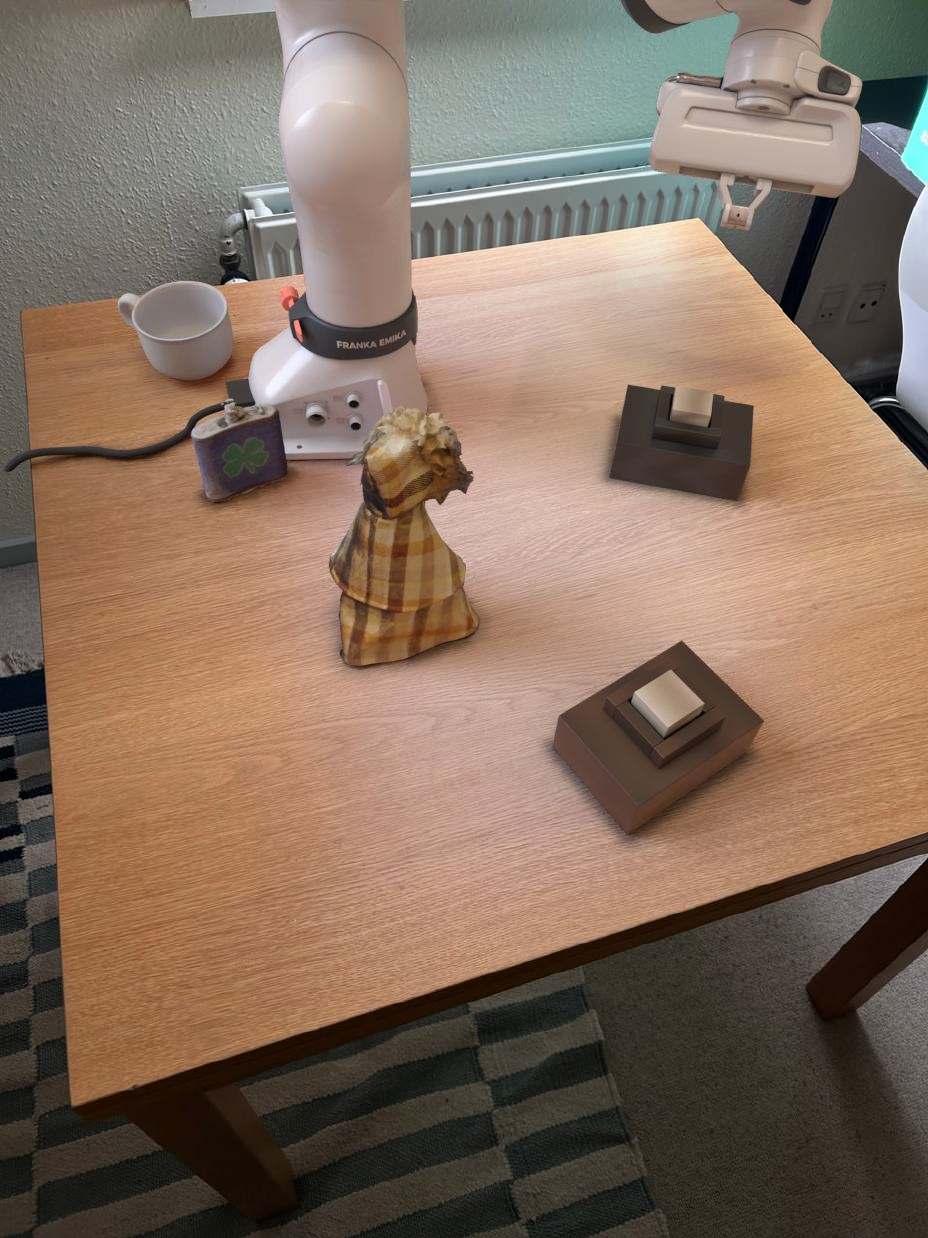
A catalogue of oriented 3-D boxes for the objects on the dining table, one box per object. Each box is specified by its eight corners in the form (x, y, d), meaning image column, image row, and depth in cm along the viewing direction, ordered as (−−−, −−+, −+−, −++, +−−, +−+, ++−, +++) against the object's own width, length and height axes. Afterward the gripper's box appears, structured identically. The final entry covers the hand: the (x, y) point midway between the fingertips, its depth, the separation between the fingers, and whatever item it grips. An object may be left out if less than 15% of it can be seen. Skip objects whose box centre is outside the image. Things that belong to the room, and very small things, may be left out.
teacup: (257, 358, 112) (247, 300, 105) (196, 405, 106) (181, 347, 100) (172, 319, 116) (157, 261, 110) (109, 363, 110) (89, 304, 104)
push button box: (627, 835, 75) (642, 796, 69) (551, 746, 80) (560, 703, 74) (747, 751, 80) (771, 709, 75) (669, 673, 85) (686, 627, 80)
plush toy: (304, 560, 91) (299, 395, 69) (433, 528, 94) (468, 361, 72) (347, 685, 86) (356, 551, 63) (482, 646, 89) (535, 506, 67)
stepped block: (608, 478, 101) (619, 428, 95) (620, 420, 107) (630, 370, 101) (737, 501, 99) (755, 452, 94) (741, 441, 105) (758, 392, 100)
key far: (669, 422, 97) (672, 408, 95) (672, 398, 99) (676, 385, 98) (707, 428, 96) (711, 415, 95) (709, 404, 99) (713, 391, 97)
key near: (663, 739, 73) (668, 727, 72) (630, 703, 75) (634, 692, 74) (699, 715, 75) (704, 703, 73) (666, 681, 77) (670, 669, 75)
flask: (211, 506, 96) (191, 427, 88) (201, 489, 98) (180, 409, 89) (292, 477, 99) (280, 397, 91) (281, 461, 101) (268, 381, 92)
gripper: (665, 54, 89) (634, 200, 91) (880, 82, 87) (844, 232, 89) (661, 84, 96) (632, 220, 98) (861, 111, 93) (828, 251, 95)
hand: (735, 226), depth 93 cm, fingers closed
